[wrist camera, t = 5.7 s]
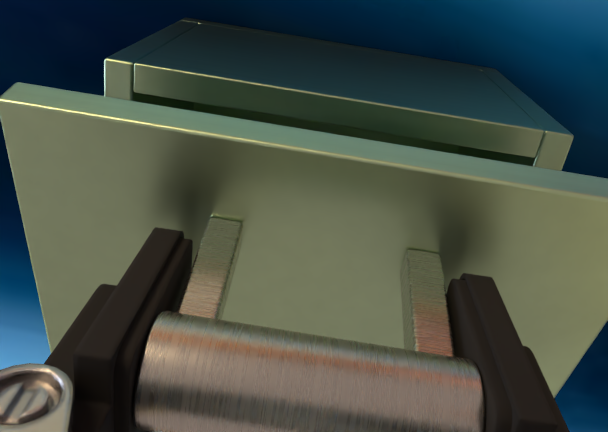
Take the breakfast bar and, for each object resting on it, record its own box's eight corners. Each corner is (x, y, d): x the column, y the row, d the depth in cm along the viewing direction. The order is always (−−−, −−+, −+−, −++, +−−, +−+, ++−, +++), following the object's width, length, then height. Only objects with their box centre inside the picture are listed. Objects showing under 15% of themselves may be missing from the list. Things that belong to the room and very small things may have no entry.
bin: (184, 17, 23) (102, 57, 15) (495, 68, 23) (575, 135, 15) (163, 390, 32) (103, 541, 24) (391, 426, 32) (407, 588, 24)
